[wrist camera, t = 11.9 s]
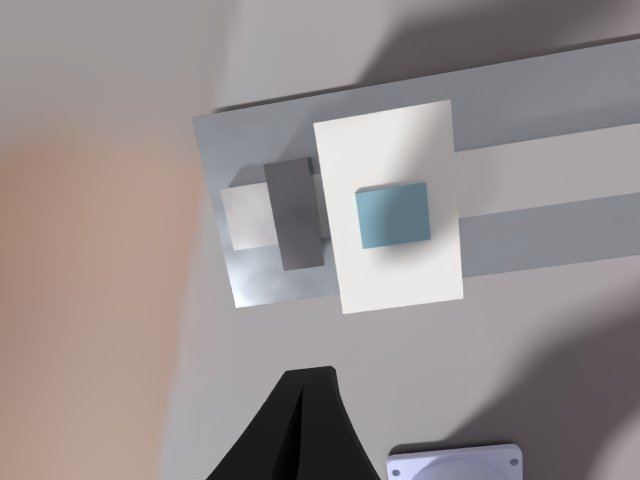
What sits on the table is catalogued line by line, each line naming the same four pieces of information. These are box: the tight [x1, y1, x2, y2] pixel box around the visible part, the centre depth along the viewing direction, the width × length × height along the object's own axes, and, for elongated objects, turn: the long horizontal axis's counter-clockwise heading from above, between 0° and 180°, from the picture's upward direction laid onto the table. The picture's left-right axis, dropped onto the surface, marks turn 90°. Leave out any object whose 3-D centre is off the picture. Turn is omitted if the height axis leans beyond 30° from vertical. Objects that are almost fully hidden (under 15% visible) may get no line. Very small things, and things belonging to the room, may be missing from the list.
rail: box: [192, 39, 640, 308], centre depth 15 cm, size 10×26×3 cm, turn 99°
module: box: [313, 99, 463, 314], centre depth 14 cm, size 7×4×5 cm, turn 9°
